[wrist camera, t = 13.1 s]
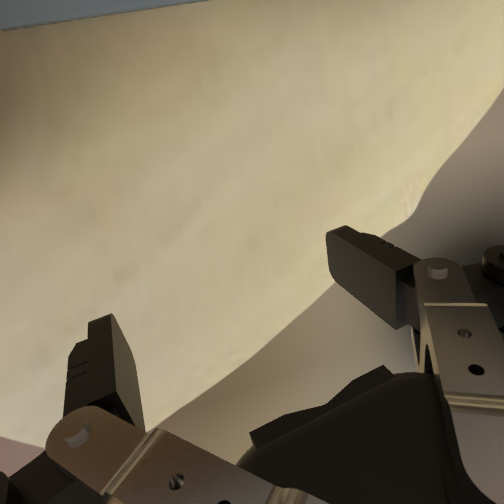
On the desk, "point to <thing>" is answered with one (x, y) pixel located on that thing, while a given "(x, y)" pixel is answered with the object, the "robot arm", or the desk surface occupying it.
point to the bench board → (70, 10)
